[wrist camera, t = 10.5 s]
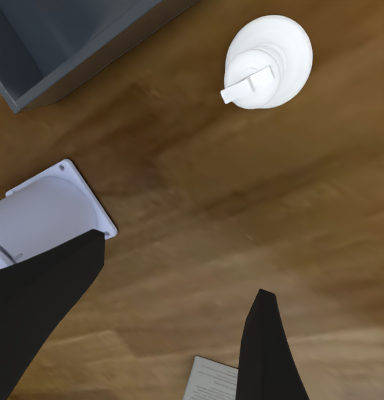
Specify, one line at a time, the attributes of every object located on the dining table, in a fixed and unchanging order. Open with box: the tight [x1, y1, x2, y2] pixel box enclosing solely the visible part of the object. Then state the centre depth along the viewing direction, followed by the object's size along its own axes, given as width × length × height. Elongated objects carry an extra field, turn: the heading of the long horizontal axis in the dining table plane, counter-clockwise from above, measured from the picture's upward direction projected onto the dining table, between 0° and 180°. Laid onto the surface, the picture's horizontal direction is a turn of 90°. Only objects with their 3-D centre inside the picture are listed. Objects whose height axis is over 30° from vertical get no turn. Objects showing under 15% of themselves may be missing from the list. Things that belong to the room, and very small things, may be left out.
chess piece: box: [220, 15, 313, 109], centre depth 13 cm, size 5×5×10 cm
